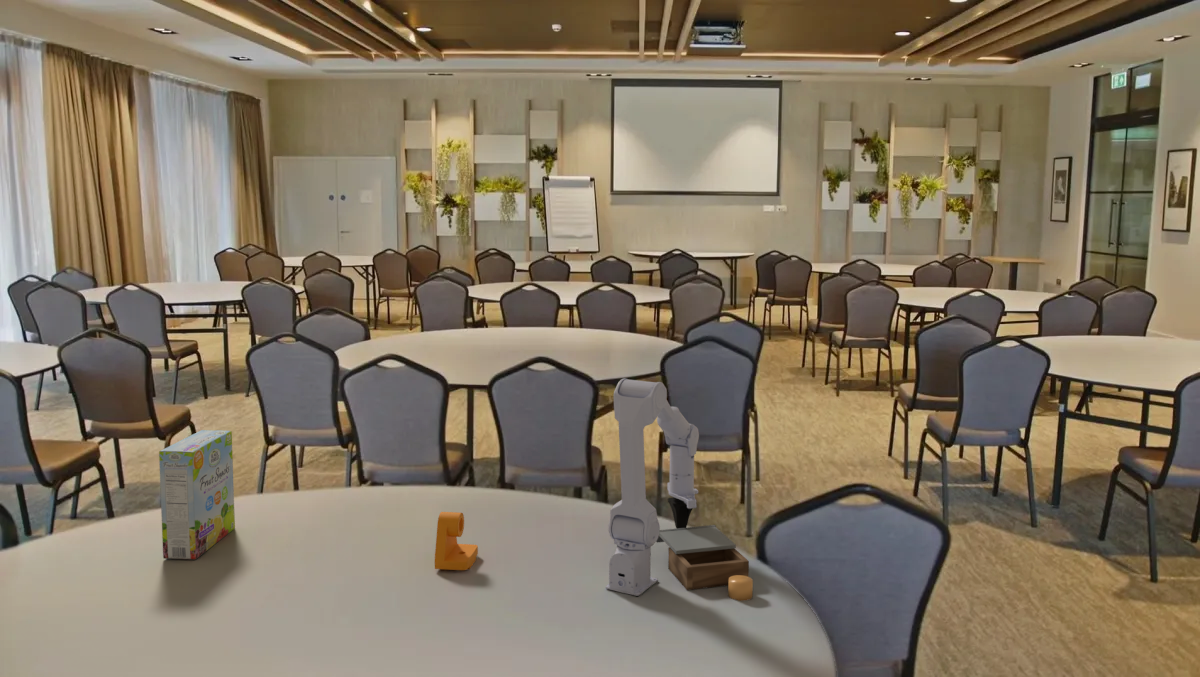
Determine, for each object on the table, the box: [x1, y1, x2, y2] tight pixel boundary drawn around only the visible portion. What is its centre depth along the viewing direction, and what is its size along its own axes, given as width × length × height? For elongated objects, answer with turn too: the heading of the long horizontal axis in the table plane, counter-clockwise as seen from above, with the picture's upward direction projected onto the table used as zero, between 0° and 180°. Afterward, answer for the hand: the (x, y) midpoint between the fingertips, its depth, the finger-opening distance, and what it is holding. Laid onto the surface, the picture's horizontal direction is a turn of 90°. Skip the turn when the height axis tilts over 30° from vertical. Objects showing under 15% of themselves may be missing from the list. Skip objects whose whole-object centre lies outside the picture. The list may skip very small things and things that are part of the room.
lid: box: [655, 524, 737, 554], centre depth 207 cm, size 13×15×3 cm
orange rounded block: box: [727, 575, 754, 602], centre depth 190 cm, size 5×5×4 cm
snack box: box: [158, 429, 236, 561], centre depth 218 cm, size 22×9×26 cm, turn 179°
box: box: [667, 546, 750, 591], centre depth 200 cm, size 12×14×5 cm
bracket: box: [434, 511, 479, 571], centre depth 207 cm, size 11×7×12 cm, turn 173°
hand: (680, 528), depth 216 cm, fingers closed
